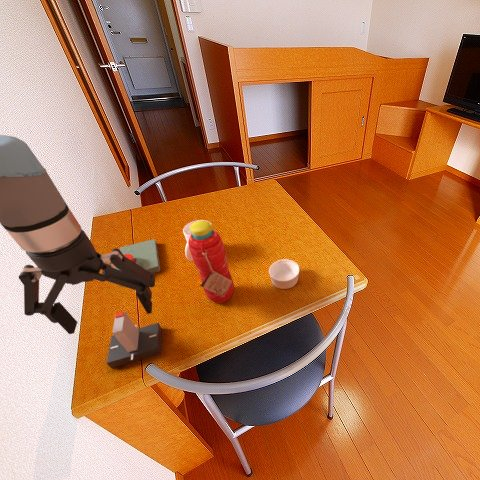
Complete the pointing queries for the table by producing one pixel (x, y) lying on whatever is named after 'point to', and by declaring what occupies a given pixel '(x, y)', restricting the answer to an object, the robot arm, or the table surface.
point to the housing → (144, 255)
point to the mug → (187, 235)
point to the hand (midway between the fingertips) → (113, 318)
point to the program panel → (146, 347)
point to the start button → (130, 257)
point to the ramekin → (284, 273)
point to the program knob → (126, 331)
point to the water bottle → (211, 261)
